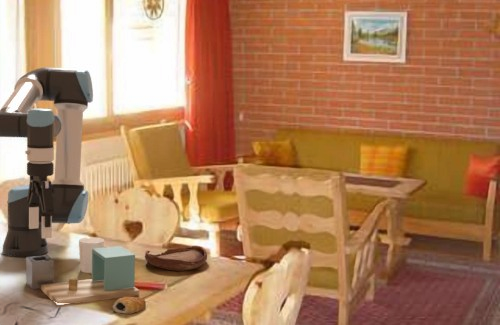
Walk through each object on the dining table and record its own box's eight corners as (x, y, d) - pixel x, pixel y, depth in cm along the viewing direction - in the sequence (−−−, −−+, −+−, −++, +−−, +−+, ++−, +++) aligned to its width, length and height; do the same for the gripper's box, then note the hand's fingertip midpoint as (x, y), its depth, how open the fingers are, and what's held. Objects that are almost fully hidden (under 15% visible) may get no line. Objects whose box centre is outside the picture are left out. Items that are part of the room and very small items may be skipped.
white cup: (98, 274, 241) (98, 243, 240) (74, 272, 243) (74, 241, 241) (107, 268, 249) (108, 238, 247) (84, 266, 250) (85, 236, 249)
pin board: (41, 289, 224) (41, 274, 223) (118, 280, 236) (119, 266, 235) (57, 305, 210) (57, 289, 209) (138, 295, 222) (139, 280, 222)
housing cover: (91, 280, 229) (92, 248, 227) (120, 277, 233) (120, 245, 232) (105, 290, 219) (105, 257, 218) (134, 287, 224) (135, 254, 222)
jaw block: (26, 283, 229) (26, 257, 228) (47, 280, 233) (47, 255, 232) (31, 289, 224) (32, 262, 223) (53, 286, 227) (53, 260, 226)
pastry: (133, 303, 216) (134, 290, 215) (152, 308, 212) (152, 294, 211) (110, 311, 208) (110, 297, 207) (129, 317, 204) (129, 303, 204)
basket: (172, 253, 273) (172, 239, 272) (220, 262, 263) (220, 248, 262) (132, 266, 253) (133, 252, 252) (182, 277, 243) (183, 262, 243)
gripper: (16, 156, 232) (16, 225, 235) (39, 167, 211) (39, 243, 214) (41, 156, 236) (41, 223, 239) (66, 166, 215) (65, 240, 217)
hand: (40, 233), depth 226 cm, fingers open, 13 cm apart
